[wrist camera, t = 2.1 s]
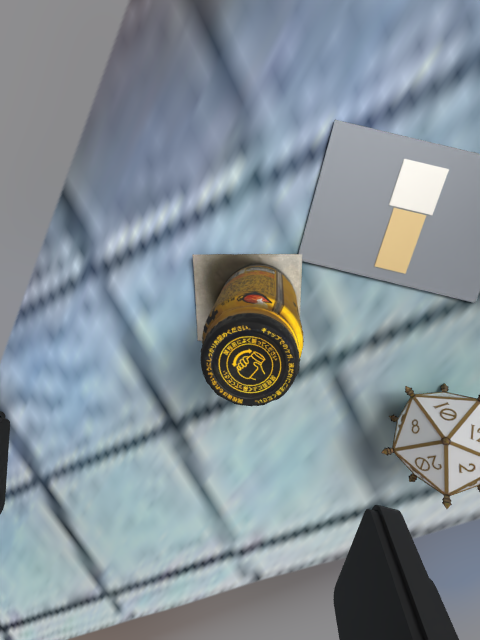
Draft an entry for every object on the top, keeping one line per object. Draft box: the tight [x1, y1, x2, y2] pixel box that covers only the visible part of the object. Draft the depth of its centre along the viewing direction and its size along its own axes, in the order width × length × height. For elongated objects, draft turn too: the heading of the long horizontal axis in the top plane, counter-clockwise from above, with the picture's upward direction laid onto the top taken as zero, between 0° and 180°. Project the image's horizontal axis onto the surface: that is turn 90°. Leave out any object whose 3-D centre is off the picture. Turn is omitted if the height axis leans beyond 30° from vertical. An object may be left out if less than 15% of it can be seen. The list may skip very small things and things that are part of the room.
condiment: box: [193, 254, 304, 406], centre depth 26 cm, size 7×8×12 cm
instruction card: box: [298, 120, 480, 303], centre depth 29 cm, size 10×14×1 cm
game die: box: [381, 383, 480, 509], centre depth 29 cm, size 9×8×10 cm
